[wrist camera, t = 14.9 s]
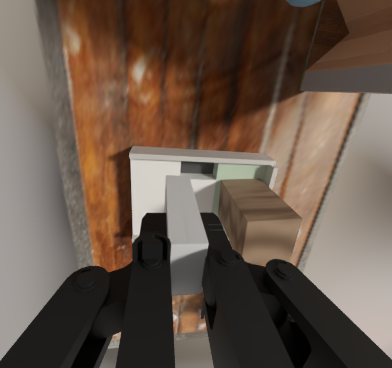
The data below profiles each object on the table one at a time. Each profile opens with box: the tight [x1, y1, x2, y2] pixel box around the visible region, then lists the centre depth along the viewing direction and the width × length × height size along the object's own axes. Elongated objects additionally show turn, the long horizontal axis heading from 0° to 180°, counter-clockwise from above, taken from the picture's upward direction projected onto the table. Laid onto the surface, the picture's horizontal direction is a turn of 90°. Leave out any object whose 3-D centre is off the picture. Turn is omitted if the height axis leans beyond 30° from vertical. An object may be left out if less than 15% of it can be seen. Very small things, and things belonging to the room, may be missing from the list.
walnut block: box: [218, 179, 302, 265], centre depth 41 cm, size 9×9×16 cm
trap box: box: [129, 146, 278, 243], centre depth 48 cm, size 21×30×7 cm
